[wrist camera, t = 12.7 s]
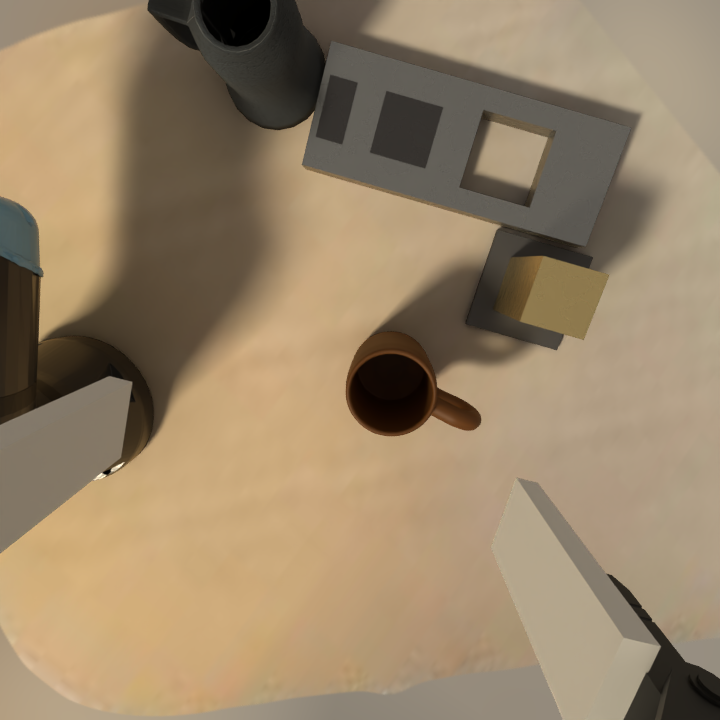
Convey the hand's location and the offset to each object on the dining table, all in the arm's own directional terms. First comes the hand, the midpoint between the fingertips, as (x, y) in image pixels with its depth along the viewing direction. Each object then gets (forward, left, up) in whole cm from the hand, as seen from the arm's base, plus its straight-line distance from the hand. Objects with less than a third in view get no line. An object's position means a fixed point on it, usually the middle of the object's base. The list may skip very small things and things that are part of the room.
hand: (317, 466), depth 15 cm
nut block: (+14, +8, -30) cm, 34 cm away
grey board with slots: (+4, +18, -30) cm, 36 cm away
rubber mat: (+14, +8, -30) cm, 34 cm away
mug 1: (-15, +20, -31) cm, 40 cm away
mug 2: (+6, -3, -31) cm, 31 cm away
